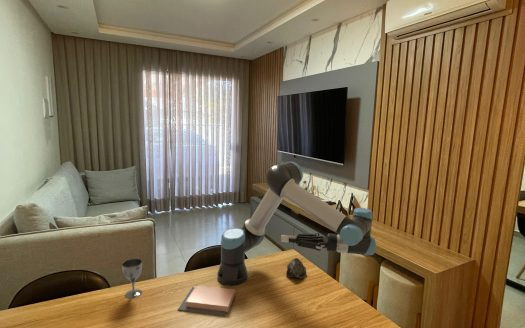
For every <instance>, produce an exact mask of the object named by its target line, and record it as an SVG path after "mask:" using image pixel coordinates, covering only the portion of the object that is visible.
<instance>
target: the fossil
mask: <svg viewBox="0 0 525 328" xmlns="http://www.w3.org/2000/svg"><path fill="white" fill-rule="evenodd" d="M286 268H287V269H286V275H285V276H286V277H291V278H297V279H299V280H301V279H304V278H305V277H306V275H307V268H306V266H305V265H304V263H303V261H301V260H300V258H298V257H293V258H292V259H291V260H290V261H289V262H288V263H287V265H286Z"/></svg>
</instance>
